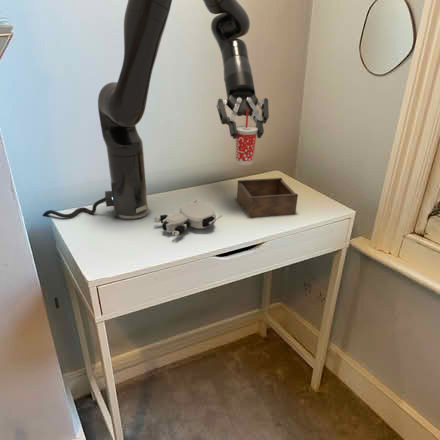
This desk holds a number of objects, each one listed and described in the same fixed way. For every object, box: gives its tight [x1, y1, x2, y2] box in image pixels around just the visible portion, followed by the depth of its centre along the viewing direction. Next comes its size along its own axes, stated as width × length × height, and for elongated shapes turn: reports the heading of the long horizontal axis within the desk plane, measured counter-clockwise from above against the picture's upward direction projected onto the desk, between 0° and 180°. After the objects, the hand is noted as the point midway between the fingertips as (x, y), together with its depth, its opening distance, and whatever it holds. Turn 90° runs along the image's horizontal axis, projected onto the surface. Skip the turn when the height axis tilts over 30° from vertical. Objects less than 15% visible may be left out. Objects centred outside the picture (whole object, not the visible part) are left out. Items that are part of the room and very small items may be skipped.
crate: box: [236, 177, 299, 218], centre depth 127 cm, size 14×14×6 cm
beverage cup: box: [235, 108, 258, 166], centre depth 115 cm, size 6×6×14 cm
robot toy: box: [153, 199, 223, 237], centre depth 115 cm, size 12×4×15 cm
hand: (247, 136), depth 114 cm, fingers closed on beverage cup, 6 cm apart
